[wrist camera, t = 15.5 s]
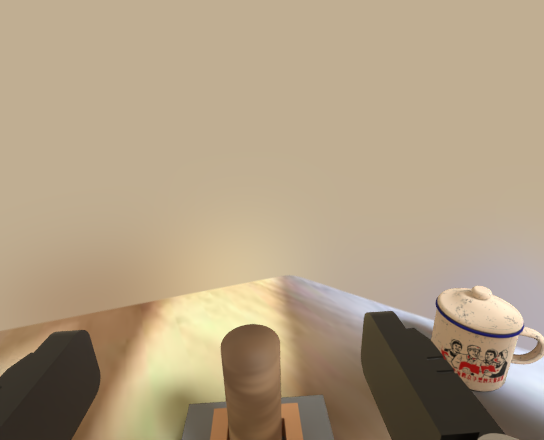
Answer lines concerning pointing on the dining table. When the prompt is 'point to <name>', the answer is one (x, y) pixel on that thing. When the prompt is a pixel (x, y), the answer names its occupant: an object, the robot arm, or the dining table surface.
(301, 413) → the collar base
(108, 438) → the dining table surface
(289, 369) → the dining table surface
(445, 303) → the teacup with lid
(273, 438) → the walnut peg
